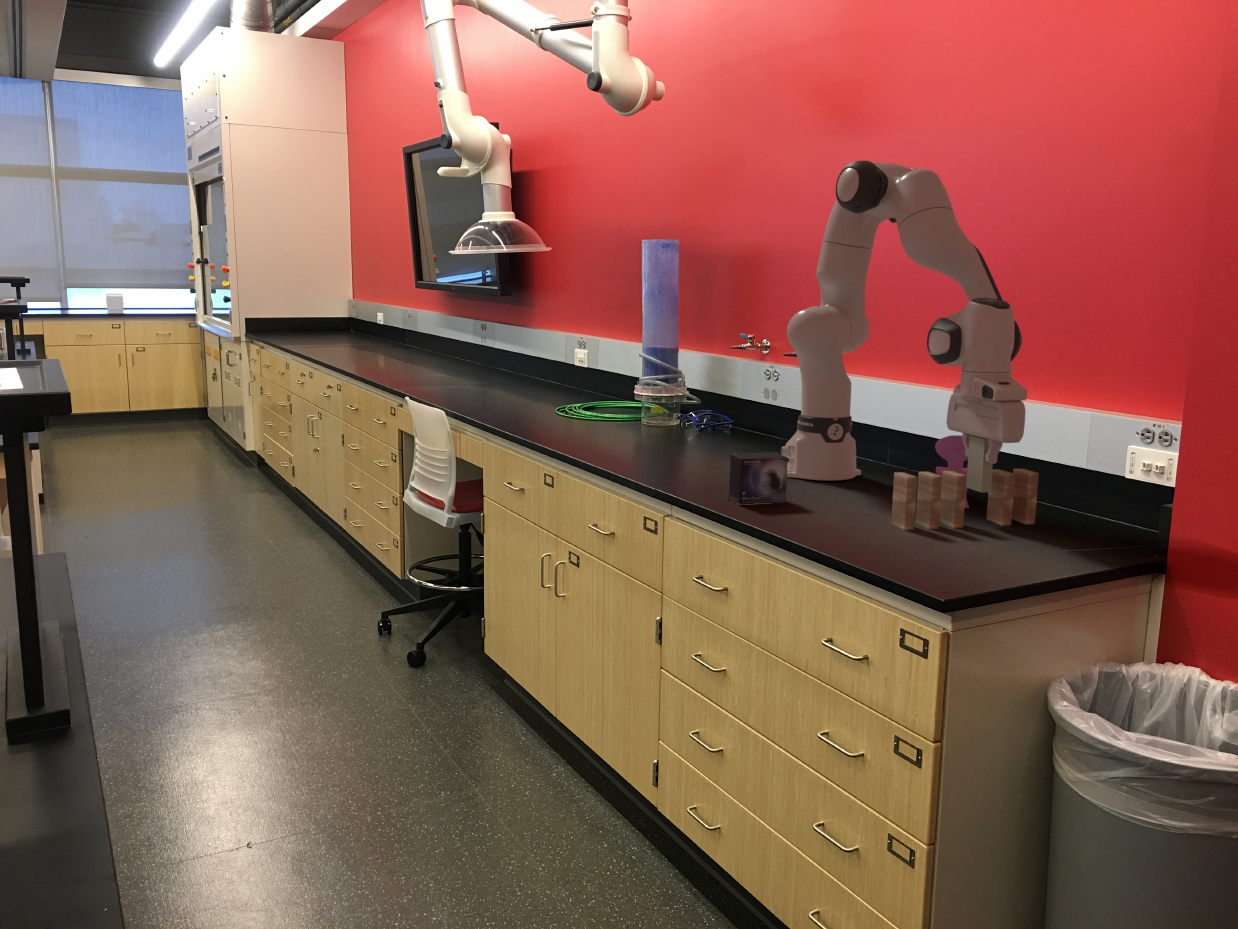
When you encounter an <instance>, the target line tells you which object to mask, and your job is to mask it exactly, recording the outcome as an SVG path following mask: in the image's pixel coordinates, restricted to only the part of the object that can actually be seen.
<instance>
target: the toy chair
mask: <svg viewBox="0 0 1238 929" xmlns="http://www.w3.org/2000/svg"><path fill="white" fill-rule="evenodd" d="M934 448H935V451H936V453H937V455H939V456H940V458H942V459H943V460H944V461H946V462H947V467H945V466H936V467H935V474H937V475H940V476H942V475H943V471H954V472H957V473H961V474H964V475H967V469H968V467H964V462H966V461H968V457H966V456H965V446H964V443H963V440H962V435H952V434H951V435H948V436H945V437H941V438H940V439H938V440H937V441H935V444H934ZM966 486H967V479H966ZM968 489H969V488H967V487H966V494H965V508H964V509H970V506H969V502H968V500H967V493H968ZM941 491H942V487H941ZM940 506H941V502H940Z"/></svg>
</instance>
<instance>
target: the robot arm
mask: <svg viewBox="0 0 1238 929" xmlns="http://www.w3.org/2000/svg"><path fill="white" fill-rule="evenodd" d="M835 197H836V200H835V202H834V204H833V206H832V209H831V212H830V214H829V216H828V220H827V222H826V227H825V230H824V234H823V239H822V243H821V248H820V251H819V252H820V253H819V257H818V262H817V267H816V272H815V276H816V281H817V282H818V284H819V290H820V305H819V306H817V305H816V306H810V307H807V308H805V309H802V310H800V311H797V313H795V314H793V316H792V317H791V318H790V319H789V321H788V324H787V328H786V335H787V340H788V343H789V344H790V346H791V347H792V348H793V350H794V351H795V355H796V358H797V362H798V365H799V366H798V367H799V372H800V375H801V376H800V377H801V412H800V414H799V415H798V420H797V426H796V431H795V433H794V434H793V436H792V437H791V438H790V439H789V440H788V441H787V442H786V443H785V445H784V446H781V449H780V450H781V452H780V454H781V455H783V456H786V457H788V467H787V478H793V479H794V478H796V479H797V478H798V479H805V480H811V481H813V480H814V481H815V480H816V481H844V480H850V479H854V478H855V477H857V476H861V475H862V471H861V470H860V469H858V468H857V445H856V443H857V442H856V439H855V438H854V437H853V436H852V435H851V432H852V426H853V420H852V417H853V416H851V402H852V381H851V379H850V377H849V376H848V374H847V372H846V368H845V363H844V357H843V354H848V353H851V352H854V351H856V350H857V349H858V348H860V347H862V346H863V345H864V344H865V343H866V342H867V340H868V338H869V335H870V327H871V326H870V323H869V320H868V318H867V316H866V286H867V284H866V283H867V278H868V273H869V268H870V263H871V258H872V254H873V250H874V249H873V248H874V243H875V240H876V239H875V238H876V234H877V230H878V227H879V226H880V224H881V223H883V222H884V221H886V220H889V222H890V223H891V224H895V223H896V226H897V230H898V235H899V239H900V243H901V245H902V248H903V250H904V252H905V253H906V255H907V256H908V258H909V259H910V260H911V261H913V263H915V264H917V265H919V266H921V267H922V268H926V269H929V270H932V271H935V272H938V273H941V274H942V275H945V276H947V277H949V278H951V279H952V280H954V281H955V282H956V283H958V284H959V286H961V288H962V289H963V291H964V293H965V297H966V298H967V301H968V302H967V303H966V305H965V306H964V308H962V309H960V310H959V311H956V312H955V313H953V314H950V315H947V316H944V317H939V318H938V319H936V320H935V321H934V322H933V323H932V325H931V326H930V328H929V330H928V332H927V338H926V348H927V351H928V354H929V355H930V356H929V357H930V358H931V359H932V360H933V361H934V362H935V363H936V364H937V365H943V366H947V367H961V370H960V371H961V372H960V383H958V384H957V385H956V386H955V388H953V390H952V391H953V392H952V394H951V395H950V397H949V401H948V406H947V413H946V426H947V429H948V430H950V431H953V432H956V433H962V435H961V436H962V440H963V443H964V446H965V456H966V457H968V452H969V436H977V437H982V438H986V439H988V445H990V446H989V449H988V452H987V453H985V454H984V457H985V458H984V462H986V463H989V464H993V465H995V464H997V463H998V456H999V453H1000V451H1001V449H1002V448H1003V444H1017V443H1020V442H1021V440H1022V439H1023V437H1024V434H1025V432H1024V431H1025V425H1026V405H1025V403H1024V402H1023V401H1026V400H1028V399H1027V398H1028V389H1027V388H1026V387H1025V386H1023V385H1022V384H1020V383H1019V382H1018V381H1017V380H1016V379H1015V378H1013V377H1012V375H1013V367H1012V362H1013V360H1014V359H1015V358H1016V357H1017V355H1018V354H1019V352H1020V350H1021V347H1022V342H1023V338H1022V331H1021V329H1020V327H1019V325H1018V323H1017V320H1015V316H1014V315H1015V314H1014V310H1013V306H1012V305H1011V304H1010V303H1009V302H1007V301H1005V300H1003V297H1002V295H1001V293H1000V290H999V289H998V287H997V284H996V282H995V279H994V278H993V275H992V273H991V270H990V269H989V268H990V267H989V266H988V264H987V262H986V261H985V258H984V257H983V255H982V253H981V251H980V250H979V248H977V246H976V245H975V244H973V243H972V242H971V240H969V238H968V237H967V235H966V234H965V233H964V231H963V229H962V228H961V226H960V225H959V222H958V220H957V218H956V215H955V211H954V208H953V205H952V202H951V199H950V196H949V195H948V192H947V190H946V188H945V185H944V183H943V182H942V180H941V179H940V176H939V175H938V173H936V172H934V171H933V170H931V169H926V168H919V169H918V168H913V167H912V168H911V167H908V166H904V165H900V164H896V163H893V162H887V163H886V162H885V163H884V162H878V161H877V162H876V161H875V162H873V161H871V160H870V161H869V160H856V161H851V162H850V163H848V164H846V165H845V166H844V167H843V168H842V170H841V171H840V173H839V174H838V176H837V180H836V184H835Z"/></svg>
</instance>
